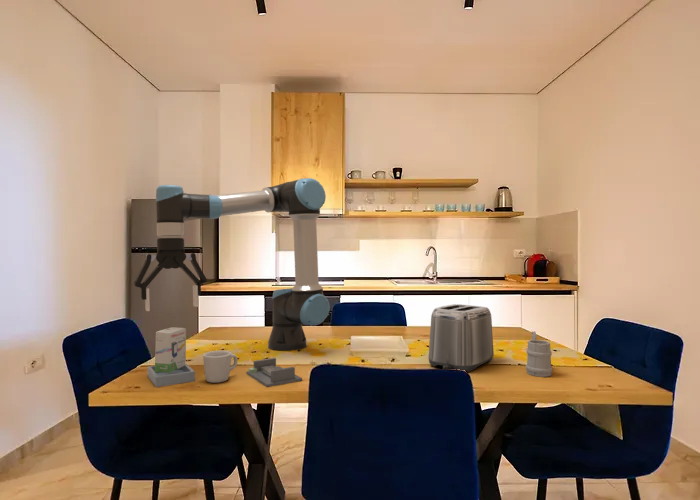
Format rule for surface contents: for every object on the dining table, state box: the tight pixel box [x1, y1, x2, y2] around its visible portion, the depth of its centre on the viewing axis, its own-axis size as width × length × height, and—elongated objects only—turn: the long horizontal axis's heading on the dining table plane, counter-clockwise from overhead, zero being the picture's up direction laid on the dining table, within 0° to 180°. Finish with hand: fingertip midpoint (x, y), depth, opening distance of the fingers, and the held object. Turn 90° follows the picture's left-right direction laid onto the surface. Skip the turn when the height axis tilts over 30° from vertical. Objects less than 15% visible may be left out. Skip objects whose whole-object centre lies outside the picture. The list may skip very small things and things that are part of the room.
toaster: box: [428, 303, 495, 373], centre depth 148 cm, size 17×30×19 cm, turn 139°
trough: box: [146, 363, 196, 388], centre depth 131 cm, size 11×14×3 cm
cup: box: [202, 350, 238, 384], centre depth 130 cm, size 11×8×8 cm
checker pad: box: [261, 365, 279, 377], centre depth 132 cm, size 4×10×1 cm, turn 34°
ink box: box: [154, 326, 187, 373], centre depth 131 cm, size 9×5×12 cm, turn 168°
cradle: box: [246, 357, 303, 388], centre depth 132 cm, size 11×16×4 cm
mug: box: [525, 330, 554, 378], centre depth 138 cm, size 8×12×12 cm, turn 172°
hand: (172, 308), depth 131 cm, fingers open, 13 cm apart
